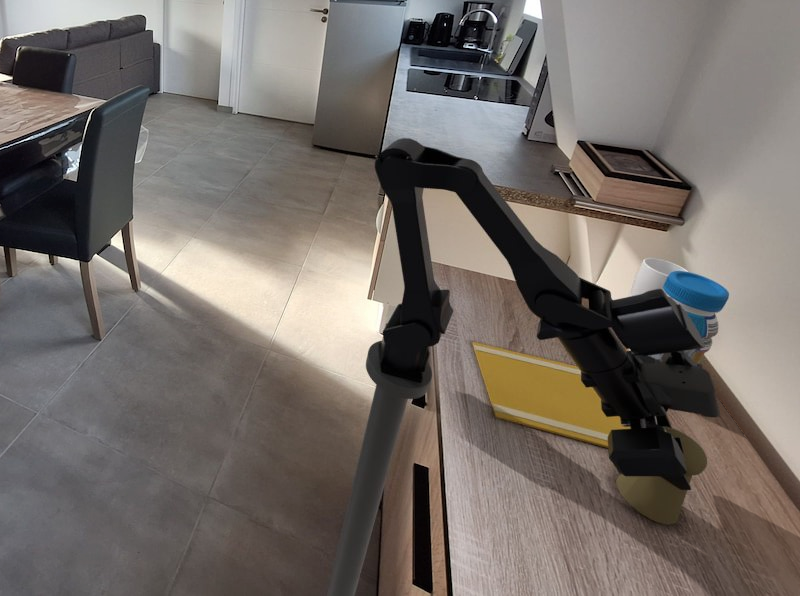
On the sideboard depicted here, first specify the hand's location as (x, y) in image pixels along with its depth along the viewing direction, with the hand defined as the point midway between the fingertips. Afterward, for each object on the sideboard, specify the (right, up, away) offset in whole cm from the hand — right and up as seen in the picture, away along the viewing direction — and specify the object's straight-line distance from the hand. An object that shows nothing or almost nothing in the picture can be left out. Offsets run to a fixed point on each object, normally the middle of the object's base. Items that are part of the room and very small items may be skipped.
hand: (682, 472), depth 56 cm
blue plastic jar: (+18, 0, +22) cm, 29 cm away
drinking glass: (+26, +4, +33) cm, 42 cm away
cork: (-1, -6, +3) cm, 7 cm away
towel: (-2, 0, +18) cm, 18 cm away
